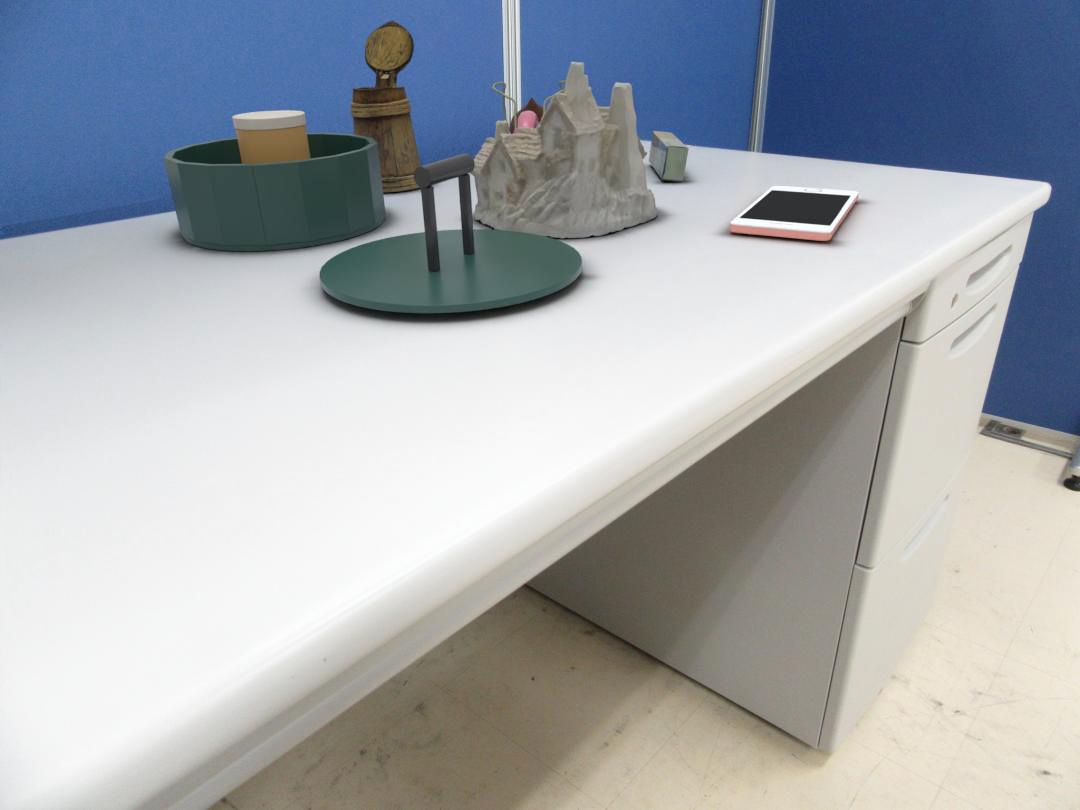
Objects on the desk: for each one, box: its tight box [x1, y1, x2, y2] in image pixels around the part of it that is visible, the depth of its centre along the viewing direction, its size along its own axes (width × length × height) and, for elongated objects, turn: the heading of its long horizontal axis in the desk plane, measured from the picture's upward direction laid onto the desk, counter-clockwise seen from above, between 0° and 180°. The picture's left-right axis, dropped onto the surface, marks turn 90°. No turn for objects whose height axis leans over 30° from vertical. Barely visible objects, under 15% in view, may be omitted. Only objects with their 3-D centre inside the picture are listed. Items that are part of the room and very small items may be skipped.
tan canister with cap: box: [231, 109, 311, 164], centre depth 77 cm, size 7×7×10 cm
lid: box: [318, 153, 583, 314], centre depth 60 cm, size 20×20×9 cm
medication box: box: [648, 130, 690, 183], centre depth 98 cm, size 12×3×4 cm, turn 1°
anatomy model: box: [491, 80, 566, 134], centre depth 100 cm, size 10×14×15 cm
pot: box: [163, 132, 387, 252], centre depth 78 cm, size 19×19×8 cm
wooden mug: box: [350, 20, 422, 194], centre depth 94 cm, size 9×14×18 cm, turn 175°
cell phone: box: [729, 185, 860, 242], centre depth 77 cm, size 9×18×1 cm, turn 153°
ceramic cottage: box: [469, 61, 658, 240], centre depth 76 cm, size 16×16×15 cm
